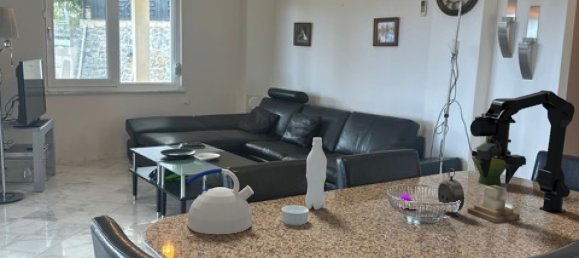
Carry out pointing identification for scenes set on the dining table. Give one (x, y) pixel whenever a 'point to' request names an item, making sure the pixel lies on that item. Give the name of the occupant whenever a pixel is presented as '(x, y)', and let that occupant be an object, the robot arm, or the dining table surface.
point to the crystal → (406, 197)
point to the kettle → (220, 208)
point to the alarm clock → (451, 191)
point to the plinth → (493, 219)
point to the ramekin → (295, 215)
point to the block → (494, 197)
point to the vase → (491, 168)
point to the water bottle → (316, 175)
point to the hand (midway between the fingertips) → (495, 180)
